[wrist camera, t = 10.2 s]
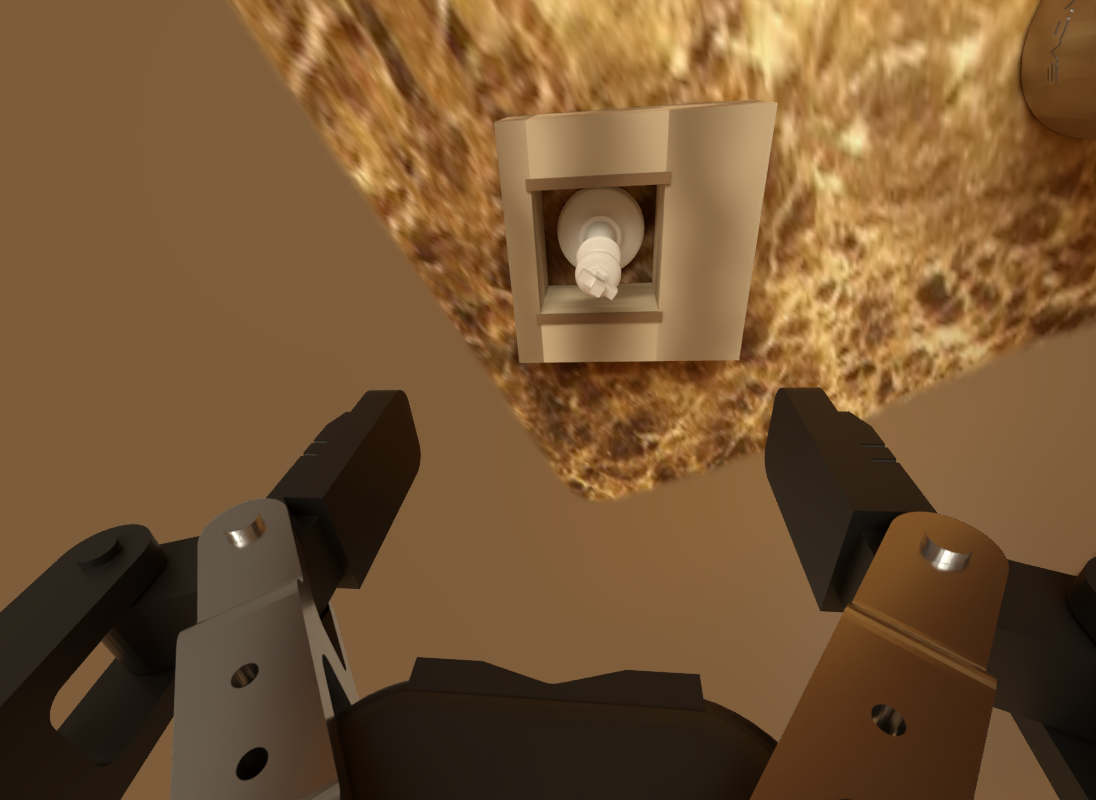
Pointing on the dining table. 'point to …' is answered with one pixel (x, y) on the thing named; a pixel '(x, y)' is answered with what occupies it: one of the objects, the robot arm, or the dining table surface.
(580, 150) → the socket block
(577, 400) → the dining table surface
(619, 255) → the chess piece
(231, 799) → the robot arm
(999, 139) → the dining table surface
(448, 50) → the dining table surface
